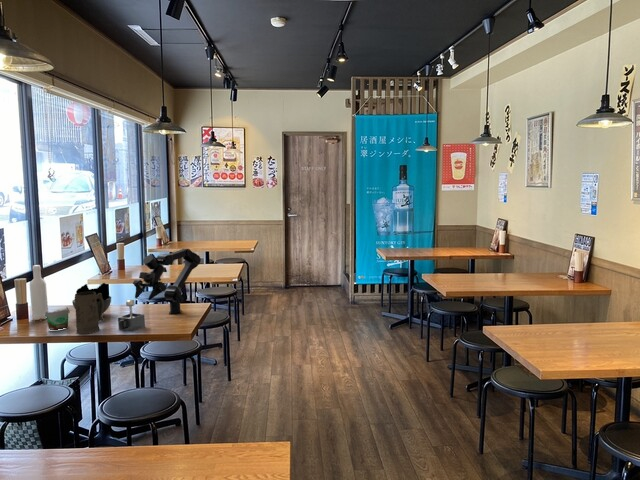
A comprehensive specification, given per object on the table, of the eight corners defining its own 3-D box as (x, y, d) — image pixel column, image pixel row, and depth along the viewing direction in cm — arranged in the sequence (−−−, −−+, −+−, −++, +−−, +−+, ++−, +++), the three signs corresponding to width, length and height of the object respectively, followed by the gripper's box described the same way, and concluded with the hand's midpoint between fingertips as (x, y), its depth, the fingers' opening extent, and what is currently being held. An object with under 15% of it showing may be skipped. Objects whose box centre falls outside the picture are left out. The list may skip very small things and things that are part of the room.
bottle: (40, 321, 284) (35, 267, 280) (29, 320, 286) (24, 266, 283) (52, 317, 291) (47, 264, 288) (41, 316, 294) (36, 264, 290)
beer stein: (87, 335, 255) (86, 295, 254) (70, 333, 259) (69, 293, 258) (109, 328, 270) (109, 290, 269) (93, 327, 273) (92, 289, 272)
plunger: (131, 317, 270) (130, 298, 269) (141, 318, 268) (139, 299, 266) (121, 320, 264) (120, 301, 263) (131, 322, 262) (130, 302, 260)
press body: (132, 325, 272) (131, 312, 272) (145, 326, 269) (144, 314, 268) (114, 331, 262) (114, 318, 261) (128, 332, 258) (127, 320, 258)
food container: (53, 333, 260) (51, 313, 259) (46, 331, 264) (44, 312, 263) (76, 327, 271) (74, 308, 270) (69, 325, 274) (67, 306, 273)
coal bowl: (65, 320, 283) (63, 287, 281) (87, 311, 303) (85, 279, 301) (99, 321, 280) (97, 287, 278) (119, 312, 300) (117, 280, 297)
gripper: (134, 264, 279) (119, 289, 270) (161, 266, 271) (147, 291, 262) (145, 276, 287) (132, 300, 278) (172, 278, 279) (159, 303, 270)
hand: (142, 299), depth 272 cm, fingers open, 9 cm apart
